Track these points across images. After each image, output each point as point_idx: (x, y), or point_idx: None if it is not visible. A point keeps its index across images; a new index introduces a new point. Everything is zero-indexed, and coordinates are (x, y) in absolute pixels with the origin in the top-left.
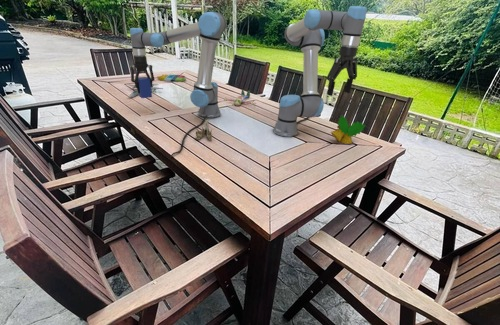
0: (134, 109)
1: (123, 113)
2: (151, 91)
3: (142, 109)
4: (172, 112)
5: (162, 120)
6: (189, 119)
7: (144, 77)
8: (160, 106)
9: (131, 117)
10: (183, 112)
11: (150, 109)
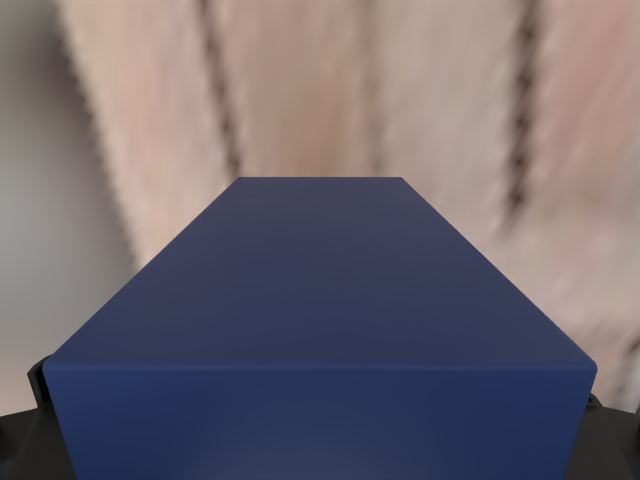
0: (232, 9)
1: (113, 102)
2: None
3: (310, 49)
4: (518, 259)
5: None
6: None
7: (436, 469)
8: (522, 22)
9: (171, 240)
10: (595, 295)
11: (384, 86)
